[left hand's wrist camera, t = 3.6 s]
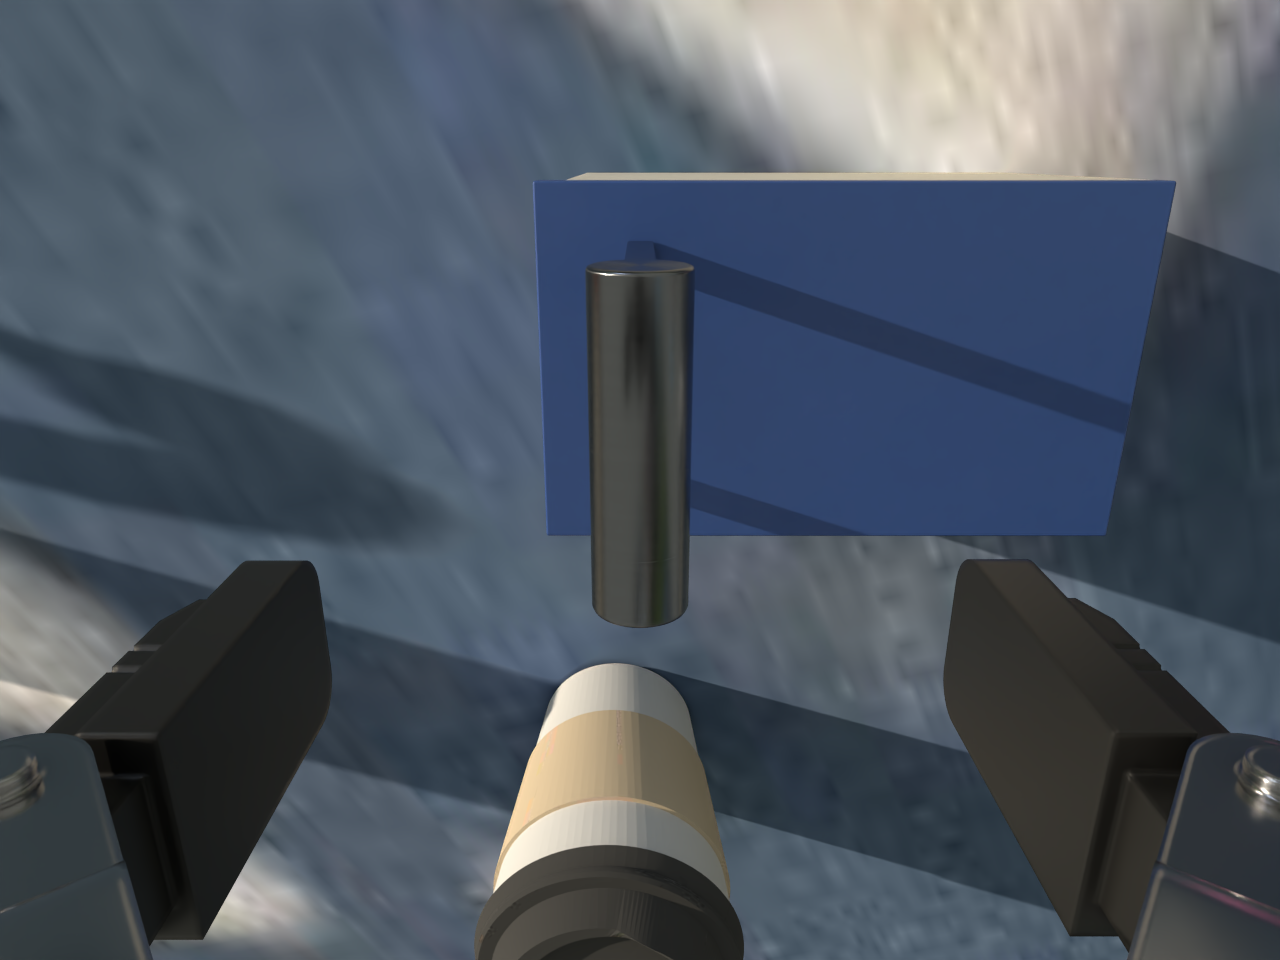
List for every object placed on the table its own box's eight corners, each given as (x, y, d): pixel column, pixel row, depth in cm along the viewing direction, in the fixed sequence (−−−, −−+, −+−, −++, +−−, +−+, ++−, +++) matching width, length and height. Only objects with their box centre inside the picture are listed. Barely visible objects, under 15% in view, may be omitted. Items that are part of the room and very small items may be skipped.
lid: (549, 523, 27) (509, 684, 19) (536, 179, 24) (480, 193, 15) (1091, 523, 27) (1287, 685, 19) (1156, 180, 24) (1434, 193, 15)
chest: (590, 427, 36) (572, 522, 27) (585, 172, 33) (563, 179, 24) (974, 427, 36) (1089, 522, 27) (1009, 173, 33) (1156, 179, 24)
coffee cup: (633, 834, 44) (631, 1158, 29) (483, 738, 42) (403, 1037, 28) (754, 712, 41) (813, 1003, 27) (600, 605, 39) (578, 858, 25)
